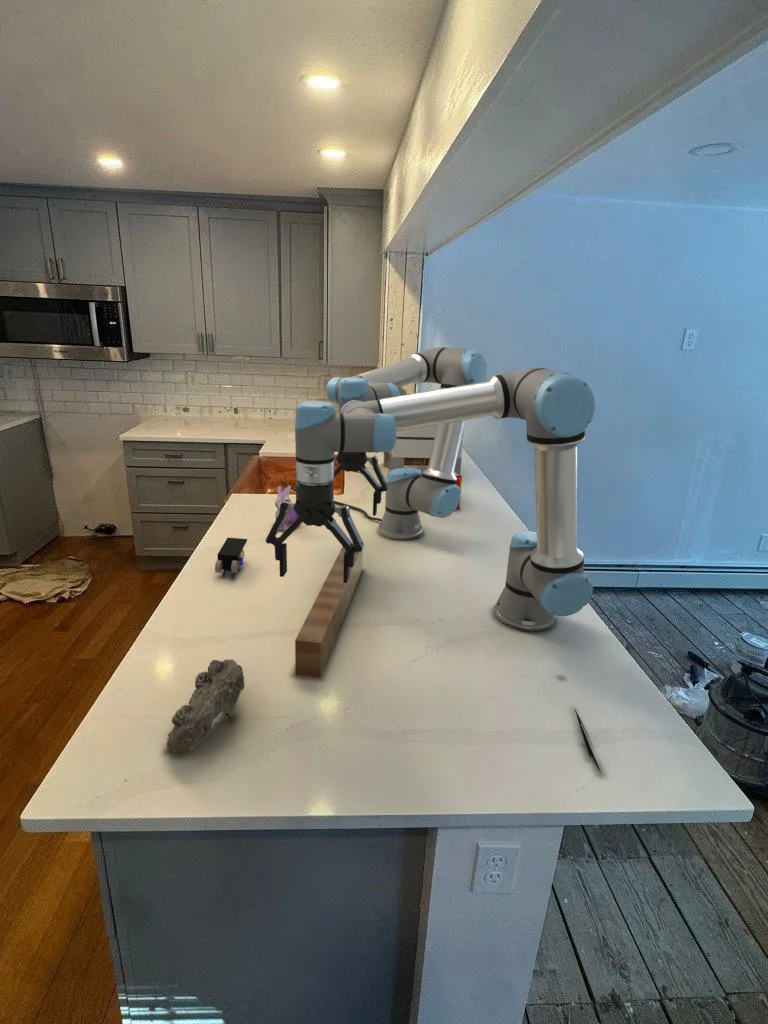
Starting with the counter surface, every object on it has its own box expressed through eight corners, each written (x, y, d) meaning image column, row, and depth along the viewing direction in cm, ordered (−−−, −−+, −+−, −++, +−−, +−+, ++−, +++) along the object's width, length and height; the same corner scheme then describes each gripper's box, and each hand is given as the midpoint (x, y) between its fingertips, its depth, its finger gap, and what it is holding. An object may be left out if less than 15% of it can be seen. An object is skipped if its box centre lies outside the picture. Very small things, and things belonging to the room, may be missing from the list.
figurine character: (238, 584, 162) (249, 557, 175) (236, 562, 158) (247, 536, 172) (215, 584, 161) (227, 556, 175) (212, 561, 158) (225, 535, 171)
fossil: (192, 660, 117) (244, 628, 112) (224, 691, 120) (276, 661, 115) (142, 746, 98) (202, 712, 93) (182, 779, 101) (242, 748, 96)
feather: (561, 682, 125) (567, 675, 124) (600, 777, 98) (608, 769, 98) (555, 678, 125) (561, 671, 124) (592, 772, 98) (600, 765, 98)
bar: (344, 568, 172) (344, 541, 169) (362, 569, 171) (363, 543, 168) (295, 675, 121) (295, 640, 118) (320, 678, 121) (320, 643, 118)
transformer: (382, 463, 289) (386, 382, 275) (445, 464, 293) (451, 384, 279) (390, 482, 257) (394, 392, 243) (460, 483, 261) (468, 394, 247)
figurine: (278, 533, 195) (277, 491, 190) (270, 523, 204) (269, 483, 199) (304, 529, 199) (304, 488, 194) (295, 519, 208) (294, 480, 203)
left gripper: (303, 437, 149) (303, 512, 156) (397, 443, 147) (393, 520, 154) (310, 431, 156) (310, 504, 163) (400, 437, 154) (396, 511, 161)
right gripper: (247, 481, 111) (251, 579, 118) (374, 491, 108) (370, 590, 115) (260, 471, 118) (263, 564, 125) (379, 480, 115) (375, 574, 122)
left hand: (350, 512), depth 159 cm, fingers open, 13 cm apart
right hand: (314, 577), depth 120 cm, fingers open, 13 cm apart
